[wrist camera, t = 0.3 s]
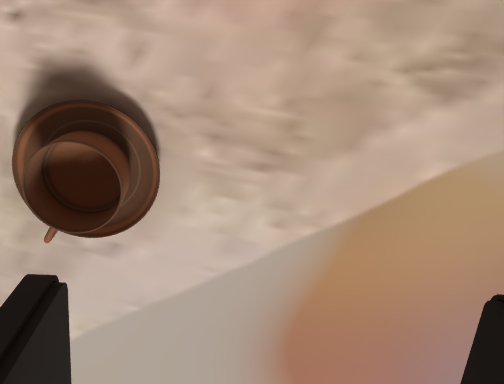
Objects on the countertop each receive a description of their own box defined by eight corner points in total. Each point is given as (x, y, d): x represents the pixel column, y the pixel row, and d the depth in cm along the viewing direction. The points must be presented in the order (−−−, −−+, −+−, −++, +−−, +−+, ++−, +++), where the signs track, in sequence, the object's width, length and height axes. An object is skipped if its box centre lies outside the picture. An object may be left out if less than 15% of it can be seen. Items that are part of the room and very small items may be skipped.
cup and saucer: (151, 239, 42) (141, 271, 36) (17, 216, 40) (-16, 247, 35) (172, 113, 39) (165, 127, 33) (26, 83, 37) (-9, 92, 31)
